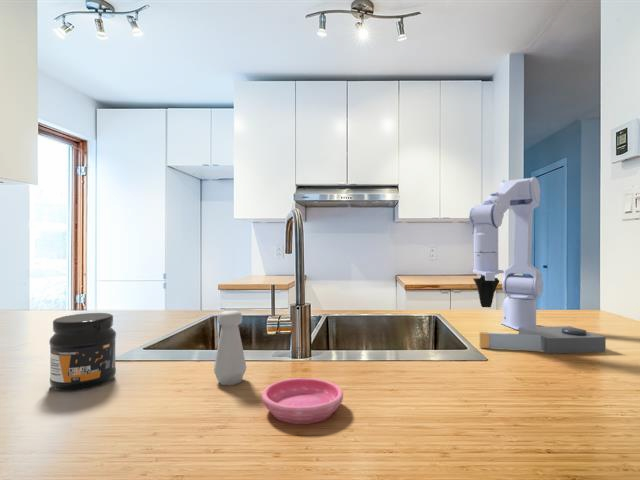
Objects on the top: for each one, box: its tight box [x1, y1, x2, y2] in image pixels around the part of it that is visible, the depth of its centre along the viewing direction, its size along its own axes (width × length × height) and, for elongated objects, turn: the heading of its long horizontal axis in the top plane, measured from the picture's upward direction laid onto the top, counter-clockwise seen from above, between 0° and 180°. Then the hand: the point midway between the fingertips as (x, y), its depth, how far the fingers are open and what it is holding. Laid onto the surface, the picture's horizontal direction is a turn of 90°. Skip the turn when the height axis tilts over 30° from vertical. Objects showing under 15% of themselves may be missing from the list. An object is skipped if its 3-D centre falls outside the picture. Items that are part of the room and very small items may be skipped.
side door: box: [478, 331, 542, 352], centre depth 92 cm, size 13×1×4 cm, turn 75°
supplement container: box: [49, 312, 117, 392], centre depth 72 cm, size 10×10×12 cm
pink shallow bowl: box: [261, 377, 344, 425], centre depth 60 cm, size 12×12×3 cm
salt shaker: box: [213, 309, 247, 386], centre depth 72 cm, size 6×6×13 cm
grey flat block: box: [518, 325, 607, 355], centre depth 95 cm, size 12×14×4 cm
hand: (486, 306), depth 97 cm, fingers closed
